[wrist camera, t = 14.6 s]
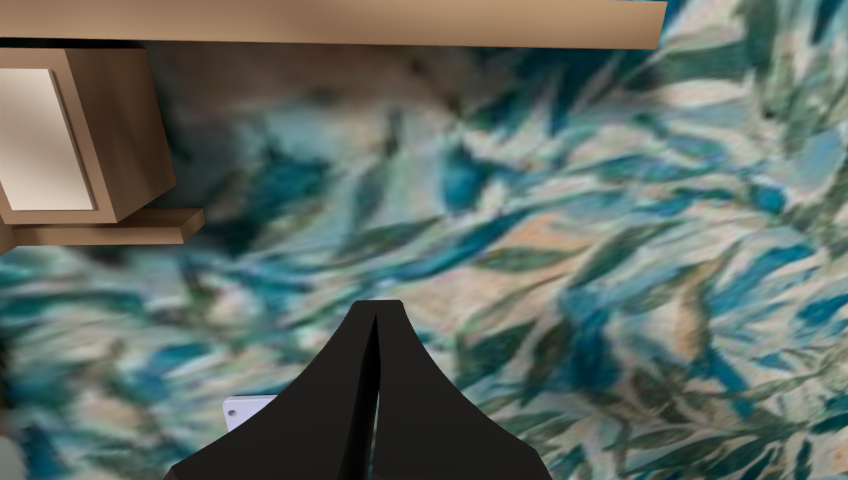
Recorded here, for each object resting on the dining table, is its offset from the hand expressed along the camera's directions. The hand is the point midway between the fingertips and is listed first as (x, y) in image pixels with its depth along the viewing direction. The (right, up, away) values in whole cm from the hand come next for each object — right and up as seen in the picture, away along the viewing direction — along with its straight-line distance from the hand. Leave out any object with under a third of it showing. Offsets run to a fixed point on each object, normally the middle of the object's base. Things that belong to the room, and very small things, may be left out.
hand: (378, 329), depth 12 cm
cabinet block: (-13, +8, +7) cm, 16 cm away
